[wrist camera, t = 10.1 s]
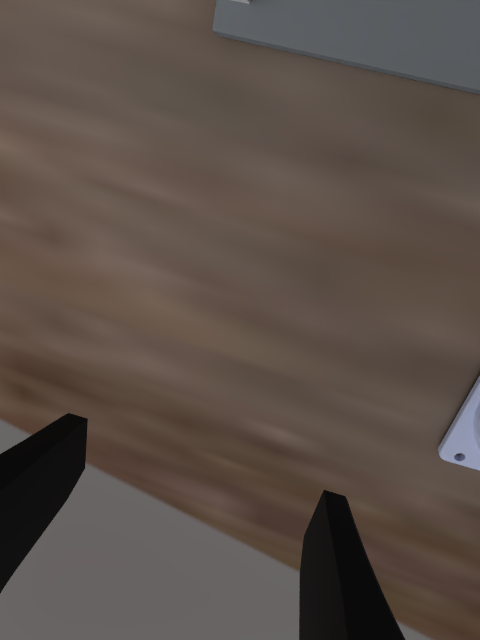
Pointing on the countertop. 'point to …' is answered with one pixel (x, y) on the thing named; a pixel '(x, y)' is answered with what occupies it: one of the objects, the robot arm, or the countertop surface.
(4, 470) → the robot arm
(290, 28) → the rail mat
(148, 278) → the countertop surface
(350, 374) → the countertop surface
